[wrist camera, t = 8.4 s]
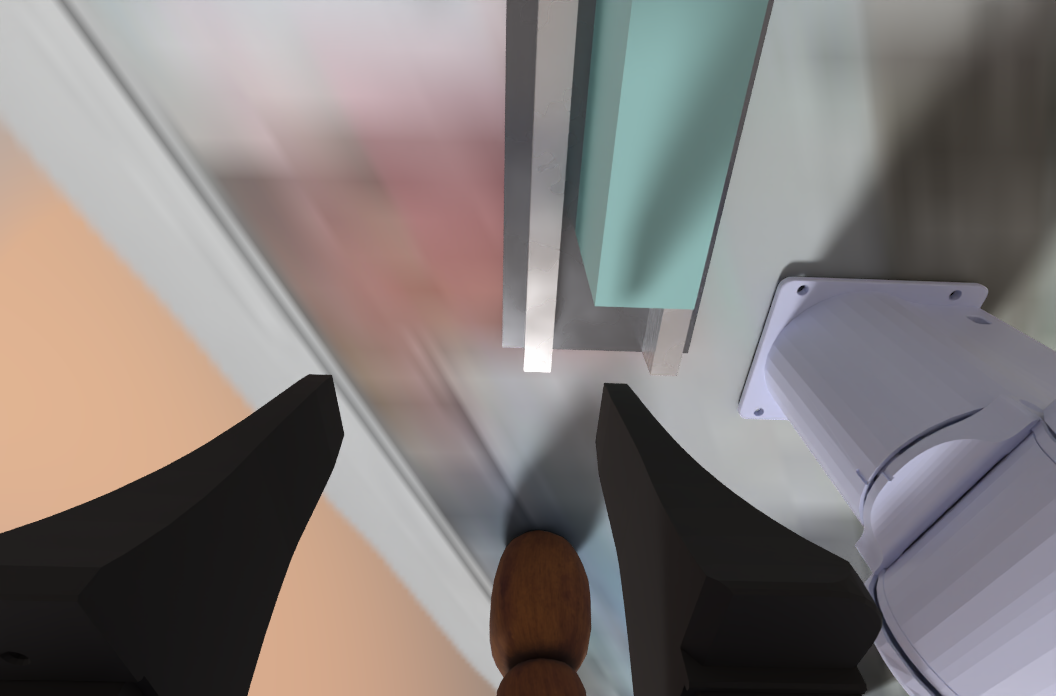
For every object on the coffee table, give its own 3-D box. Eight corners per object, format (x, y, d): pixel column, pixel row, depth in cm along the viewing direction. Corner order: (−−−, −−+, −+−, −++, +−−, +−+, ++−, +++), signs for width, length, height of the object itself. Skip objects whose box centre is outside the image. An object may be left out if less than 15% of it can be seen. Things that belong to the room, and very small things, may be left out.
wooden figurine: (500, 510, 31) (481, 843, 18) (591, 519, 31) (636, 850, 18) (489, 576, 34) (466, 894, 21) (571, 583, 35) (596, 899, 22)
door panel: (691, -34, 16) (788, -82, 10) (645, 234, 21) (694, 309, 15) (600, -39, 16) (643, -90, 10) (575, 231, 21) (594, 305, 15)
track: (855, -370, 13) (922, -455, 11) (684, 346, 24) (700, 376, 22) (512, -390, 13) (509, -484, 10) (503, 341, 24) (500, 370, 22)
